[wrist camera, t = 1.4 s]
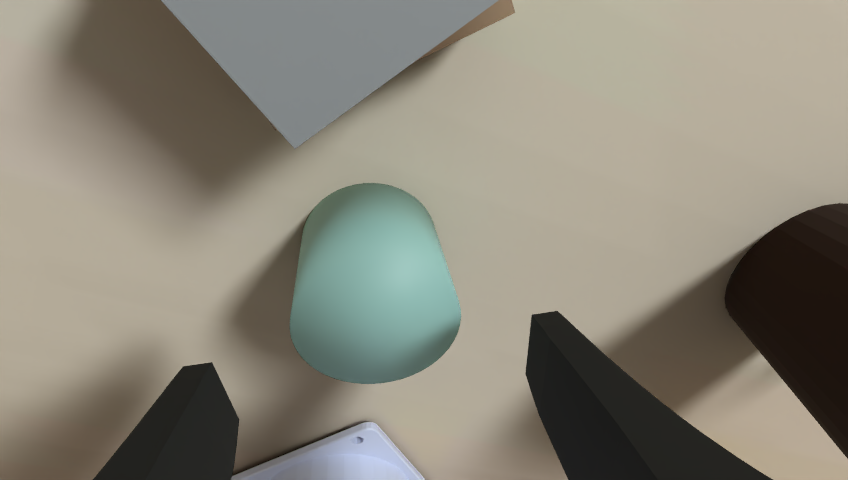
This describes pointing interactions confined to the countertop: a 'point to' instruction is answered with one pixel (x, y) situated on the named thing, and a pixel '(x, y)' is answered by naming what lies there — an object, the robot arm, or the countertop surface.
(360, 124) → the countertop surface
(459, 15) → the grey square slab
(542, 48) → the countertop surface
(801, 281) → the coffee mug
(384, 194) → the teal cylinder
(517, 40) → the countertop surface
